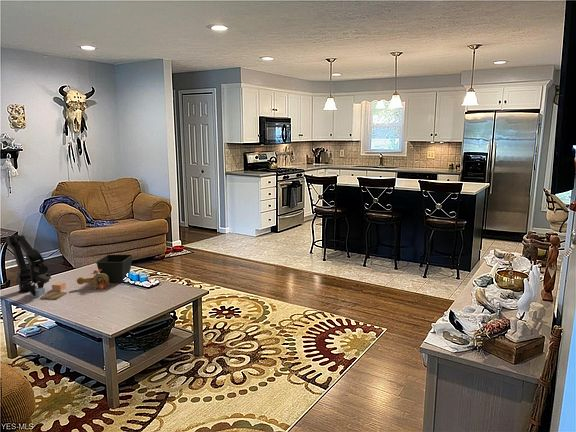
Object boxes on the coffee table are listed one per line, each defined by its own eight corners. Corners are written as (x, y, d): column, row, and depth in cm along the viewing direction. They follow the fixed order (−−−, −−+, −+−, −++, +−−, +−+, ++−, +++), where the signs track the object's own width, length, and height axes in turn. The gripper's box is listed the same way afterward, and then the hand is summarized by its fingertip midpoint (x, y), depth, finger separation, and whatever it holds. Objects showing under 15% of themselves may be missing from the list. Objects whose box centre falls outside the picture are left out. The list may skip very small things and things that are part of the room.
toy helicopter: (107, 290, 294) (106, 270, 291) (75, 291, 291) (73, 271, 289) (110, 285, 302) (109, 267, 299) (79, 287, 299) (78, 268, 297)
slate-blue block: (30, 297, 281) (29, 290, 280) (36, 293, 286) (36, 287, 286) (39, 297, 280) (38, 291, 279) (45, 294, 286) (44, 287, 285)
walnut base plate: (40, 299, 277) (40, 297, 277) (51, 292, 288) (51, 291, 288) (56, 299, 276) (56, 298, 276) (66, 293, 287) (66, 292, 287)
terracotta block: (52, 291, 291) (51, 285, 291) (57, 288, 297) (57, 282, 296) (60, 291, 291) (60, 285, 290) (66, 288, 297) (65, 282, 296)
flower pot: (97, 284, 305) (95, 261, 302) (109, 275, 323) (107, 254, 320) (123, 284, 304) (122, 262, 301) (134, 276, 323) (132, 254, 320)
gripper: (37, 276, 270) (39, 299, 273) (55, 267, 288) (58, 289, 291) (20, 275, 271) (23, 299, 274) (40, 266, 289) (42, 289, 292)
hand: (37, 294), depth 283 cm, fingers closed on slate-blue block, 6 cm apart
